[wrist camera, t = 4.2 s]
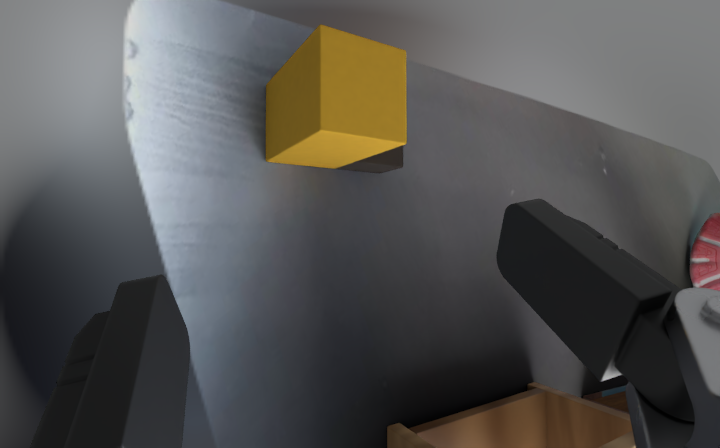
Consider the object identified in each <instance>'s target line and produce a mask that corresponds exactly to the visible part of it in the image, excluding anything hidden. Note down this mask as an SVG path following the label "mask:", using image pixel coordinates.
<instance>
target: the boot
mask: <svg viewBox="0 0 720 448" xmlns="http://www.w3.org/2000/svg"><path fill="white" fill-rule="evenodd" d="M406 143H407V120H406V51H405V50H402V49H399V48H396V47H392V46H389V45H386V44H383V43H380V42H376V41H373V40H370V39H367V38H364V37H360V36H357V35H354V34H350V33H347V32H344V31H341V30H338V29H334V28H331V27H328V26H325V25H319V26H318V27H317V28H316V29H315V31H314V32H313V33H312V34H311V35H310V36H309V37H308V38H307V39H306V41H305V42H304V43H303V44H302V45H301V46H300V47H299V48H298V50H297V51H296V52H295V53H294V54H293V55H292V56H291V57H290V59H289V60H288V61H287V62H286V63H285V64H284V65H283V66H282V68H281V69H280V70H279V71H278V72H277V73H276V74H275V75H274V77H273V78H272V79H271V80H270V81H269V82H268V83H267V85H266V162H274V163H284V164H293V165H303V166H313V167H322V168H332V169H342V170H352V171H362V172H371V173H383V172H387V171H390V170H394V169H398V168H402V167H403V145H405V144H406Z"/></svg>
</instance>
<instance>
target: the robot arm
mask: <svg viewBox="0 0 720 448" xmlns="http://www.w3.org/2000/svg"><path fill="white" fill-rule="evenodd" d="M497 264H498V267H499V270H500V272H501V274H502V275H503V277H504V278H505V279H506V280H507V281H508V283H509V284H510V285H511V286H512V287H513V288H514V289H515V290H516V291H517V292H518V293H519V294H520V295H521V297H522V298H523V299H524V300H525V301H526V302H527V303H528V304H529V305H530V306H531V307H532V308H533V310H534V311H535V312H536V313H537V314H538V315H539V316H540V317H541V318H542V319H543V320H544V321H545V323H546V324H547V325H548V326H549V327H550V328H551V329H552V330H553V331H554V332H555V333H556V334H557V336H558V337H559V338H560V339H561V340H562V341H563V342H564V343H565V344H566V345H567V346H568V347H569V349H570V350H571V351H572V352H573V353H574V354H575V355H576V356H577V357H578V358H579V359H580V360H581V362H582V363H583V364H584V365H585V366H586V367H587V368H588V369H589V370H590V371H591V372H592V373H593V374H594V376H595V377H596V378H597V379H598V380H599V381H600V382H602V381H605V380H608V379H611V378H614V377H617V376H620V375H623V376H624V377H625V378H626V379H627V380H628V381H629V382H628V384H627V386H626V389H625V395H626V400H627V405H628V410H629V415H630V420H631V426H632V431H633V436H634V441H635V446H636V448H720V291H718V290H713V289H708V288H687V289H684V290H682V289H680V288H679V287H677V286H676V285H674V284H673V283H671V282H670V281H668V280H667V279H665V278H664V277H663V276H661V275H660V274H658V273H657V272H655V271H654V270H652V269H651V268H649V267H648V266H647V265H645V264H644V263H642V262H641V261H639V260H638V259H636V258H635V257H634V256H632V255H631V254H629V253H628V252H626V251H625V250H623V249H619V248H618V245H616V244H615V243H613V242H612V241H610V240H609V239H607V238H605V239H604V238H603V235H602V234H600V233H599V232H597V231H596V230H594V229H593V228H591V227H590V226H588V225H587V224H586V223H583V222H581V221H579V220H576V219H574V218H571V217H569V216H566V215H564V214H563V213H562V212H560V211H559V210H557V209H556V208H554V207H553V206H552V205H550V204H549V203H547V202H546V201H544V200H542V199H535V200H530V201H525V202H520V203H515V204H511V205H509V206H508V207H507V208H506V210H505V214H504V219H503V224H502V229H501V234H500V240H499V245H498V250H497ZM189 360H190V342H189V336H188V331H187V328H186V325H185V322H184V320H183V317H182V315H181V313H180V310H179V308H178V305H177V303H176V301H175V298H174V296H173V293H172V291H171V289H170V286H169V284H168V282H167V280H166V278H165V277H164V276H163V275H156V276H151V277H146V278H141V279H136V280H132V281H127V282H122V283H121V284H120V285H119V287H118V289H117V292H116V295H115V298H114V301H113V304H112V307H111V310H110V311H107V312H103V313H98V314H95V315H94V316H93V317H92V319H90V321H89V322H88V323H87V324H86V325H85V326H84V327H83V328H82V330H81V331H80V332H79V333H78V334H77V335H76V337H75V338H74V341H73V343H72V346H71V348H70V350H69V353H68V356H67V358H66V360H65V363H66V365H65V366H64V367H62V370H61V372H60V375H59V377H58V380H57V382H56V383H57V387H56V388H54V389H53V392H52V394H51V397H50V399H49V402H48V404H47V406H46V409H45V411H44V414H43V416H42V418H41V421H40V423H39V426H38V428H37V431H36V433H35V436H34V438H33V440H32V443H31V445H30V448H182V439H183V427H184V416H185V405H186V393H187V383H188V371H189Z"/></svg>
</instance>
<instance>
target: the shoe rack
mask: <svg viewBox="0 0 720 448" xmlns="http://www.w3.org/2000/svg"><path fill="white" fill-rule="evenodd" d="M387 448H636V446H635V441H634V436H633V431H632V426H631V420H630V415H628V414H625V413H622V412H620V411H617V410H614V409H611V408H608V407H605V406H602V405H599V404H597V403H594V402H591V401H588V400H585V399H582V398H579V397H576V396H574V395H571V394H568V393H565V392H562V391H559V390H556V389H553V388H551V387H548V386H545V385H542V384H539V383H536V382H533V383H530V384H527V391H526V392H523V393H519V394H516V395H513V396H510V397H507V398H504V399H500V400H497V401H494V402H491V403H488V404H484V405H481V406H478V407H475V408H472V409H469V410H465V411H462V412H459V413H456V414H453V415H449V416H446V417H443V418H440V419H437V420H434V421H430V422H427V423H424V424H421V425H418V426H415V427H411V428H409V429H408V428H406V427H405V426H403V425H402V424H400V423H397V424H393V425H390V426H387Z"/></svg>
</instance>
